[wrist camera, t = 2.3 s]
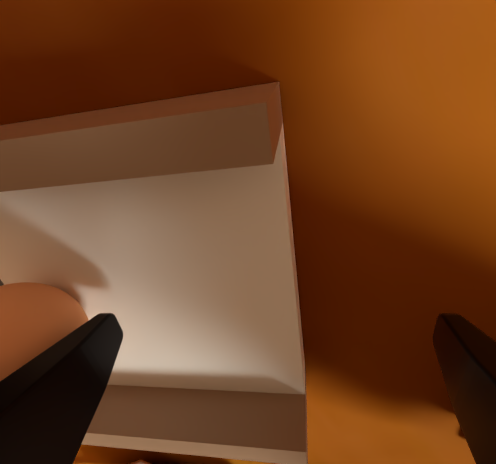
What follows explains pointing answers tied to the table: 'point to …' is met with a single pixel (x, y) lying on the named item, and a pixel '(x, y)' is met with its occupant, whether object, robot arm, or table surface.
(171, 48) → the table surface
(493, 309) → the table surface
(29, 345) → the ball
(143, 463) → the figurine
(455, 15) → the table surface
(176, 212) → the shallow open tray
